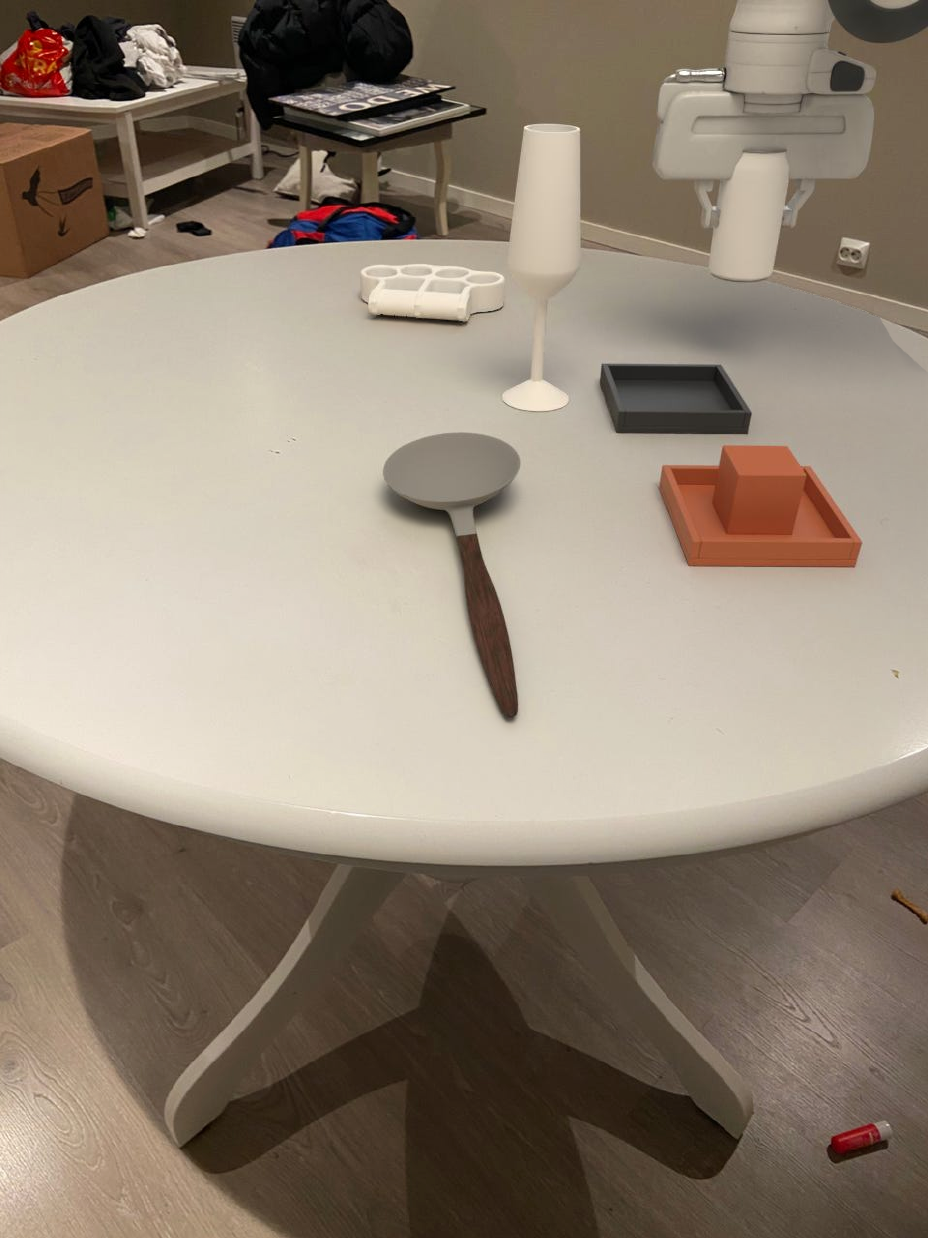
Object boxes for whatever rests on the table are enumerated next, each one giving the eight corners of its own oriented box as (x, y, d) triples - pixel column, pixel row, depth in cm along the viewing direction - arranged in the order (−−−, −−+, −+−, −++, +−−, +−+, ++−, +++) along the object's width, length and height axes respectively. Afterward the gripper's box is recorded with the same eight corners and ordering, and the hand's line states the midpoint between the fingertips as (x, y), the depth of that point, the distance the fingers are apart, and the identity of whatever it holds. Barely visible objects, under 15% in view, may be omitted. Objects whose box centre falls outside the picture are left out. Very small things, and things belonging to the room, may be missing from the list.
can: (733, 286, 95) (753, 154, 88) (694, 270, 100) (711, 143, 93) (785, 278, 97) (809, 148, 90) (745, 263, 102) (765, 138, 95)
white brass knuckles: (342, 318, 113) (373, 283, 125) (492, 329, 111) (509, 293, 123) (341, 290, 111) (372, 257, 123) (493, 300, 109) (511, 266, 121)
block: (774, 502, 76) (787, 445, 73) (792, 534, 72) (807, 474, 69) (711, 502, 76) (722, 444, 73) (726, 534, 72) (738, 474, 69)
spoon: (509, 456, 82) (507, 425, 80) (604, 724, 56) (605, 687, 54) (383, 472, 81) (378, 441, 79) (420, 751, 55) (415, 714, 54)
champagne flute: (574, 410, 92) (598, 134, 78) (505, 411, 92) (517, 134, 78) (563, 384, 97) (584, 122, 84) (498, 385, 97) (508, 121, 83)
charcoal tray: (717, 384, 98) (721, 364, 97) (747, 433, 88) (752, 412, 87) (599, 382, 98) (601, 363, 97) (616, 432, 88) (618, 411, 87)
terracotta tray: (804, 488, 79) (810, 465, 78) (855, 566, 69) (862, 542, 68) (658, 487, 79) (662, 464, 78) (688, 565, 69) (693, 541, 68)
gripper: (666, 72, 85) (649, 234, 93) (894, 71, 85) (858, 233, 93) (654, 65, 90) (639, 219, 98) (869, 63, 90) (837, 218, 98)
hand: (747, 226), depth 96 cm, fingers closed on can, 6 cm apart
